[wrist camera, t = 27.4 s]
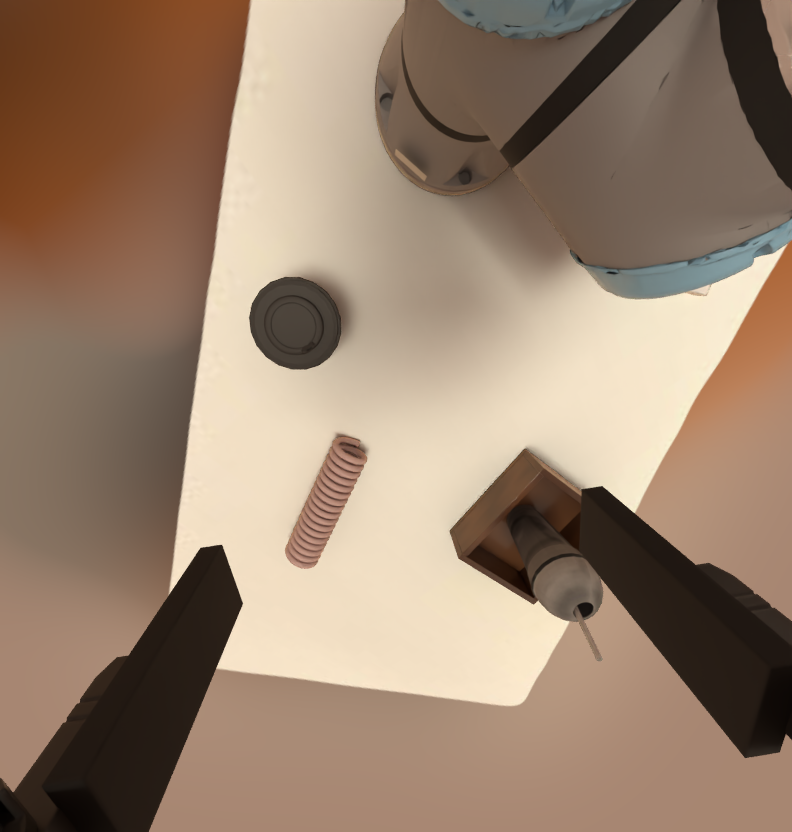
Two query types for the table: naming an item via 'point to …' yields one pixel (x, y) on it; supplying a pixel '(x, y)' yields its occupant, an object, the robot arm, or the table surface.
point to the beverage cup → (556, 569)
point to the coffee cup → (295, 323)
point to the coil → (330, 490)
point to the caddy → (488, 530)
